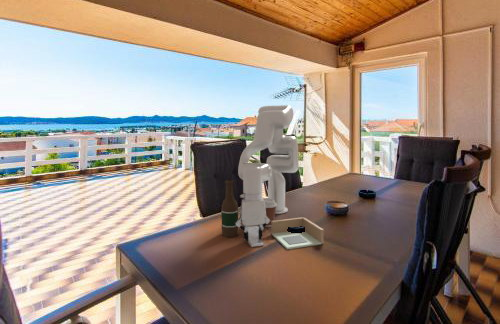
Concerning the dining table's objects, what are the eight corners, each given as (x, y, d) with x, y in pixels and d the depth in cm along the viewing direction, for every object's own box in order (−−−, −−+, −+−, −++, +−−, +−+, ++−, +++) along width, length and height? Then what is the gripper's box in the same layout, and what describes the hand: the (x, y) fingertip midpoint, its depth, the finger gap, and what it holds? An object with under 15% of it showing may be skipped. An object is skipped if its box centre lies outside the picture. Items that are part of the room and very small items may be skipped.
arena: (271, 234, 118) (271, 221, 117) (303, 229, 122) (303, 217, 122) (287, 249, 102) (287, 234, 102) (323, 243, 107) (323, 229, 107)
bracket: (246, 241, 110) (246, 227, 109) (258, 239, 112) (258, 225, 111) (251, 247, 105) (251, 232, 104) (263, 245, 106) (263, 230, 105)
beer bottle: (241, 231, 120) (241, 179, 118) (235, 238, 113) (234, 182, 110) (225, 229, 123) (224, 178, 120) (218, 236, 116) (217, 181, 113)
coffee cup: (254, 224, 130) (254, 200, 128) (266, 219, 136) (266, 196, 135) (268, 229, 123) (268, 204, 122) (280, 224, 130) (280, 200, 128)
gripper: (234, 200, 102) (235, 246, 104) (275, 196, 107) (275, 240, 109) (229, 196, 109) (230, 238, 111) (268, 192, 114) (268, 233, 116)
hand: (253, 239), depth 110 cm, fingers closed on bracket, 5 cm apart
